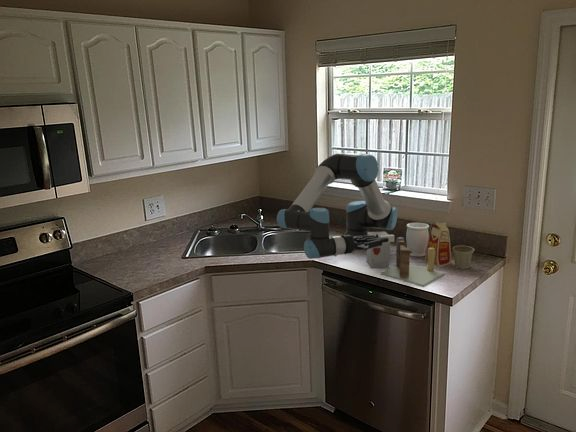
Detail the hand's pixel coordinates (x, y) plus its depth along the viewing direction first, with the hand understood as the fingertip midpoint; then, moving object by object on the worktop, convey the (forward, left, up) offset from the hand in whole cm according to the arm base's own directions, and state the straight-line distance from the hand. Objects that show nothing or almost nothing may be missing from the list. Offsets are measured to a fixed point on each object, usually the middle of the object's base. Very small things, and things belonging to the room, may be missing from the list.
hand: (393, 238), depth 199 cm
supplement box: (-12, +17, -20) cm, 28 cm away
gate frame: (+5, +11, -19) cm, 23 cm away
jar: (0, +39, -20) cm, 43 cm away
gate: (+2, +10, -18) cm, 20 cm away
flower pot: (+23, +31, -20) cm, 43 cm away
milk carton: (+12, +32, -20) cm, 39 cm away
